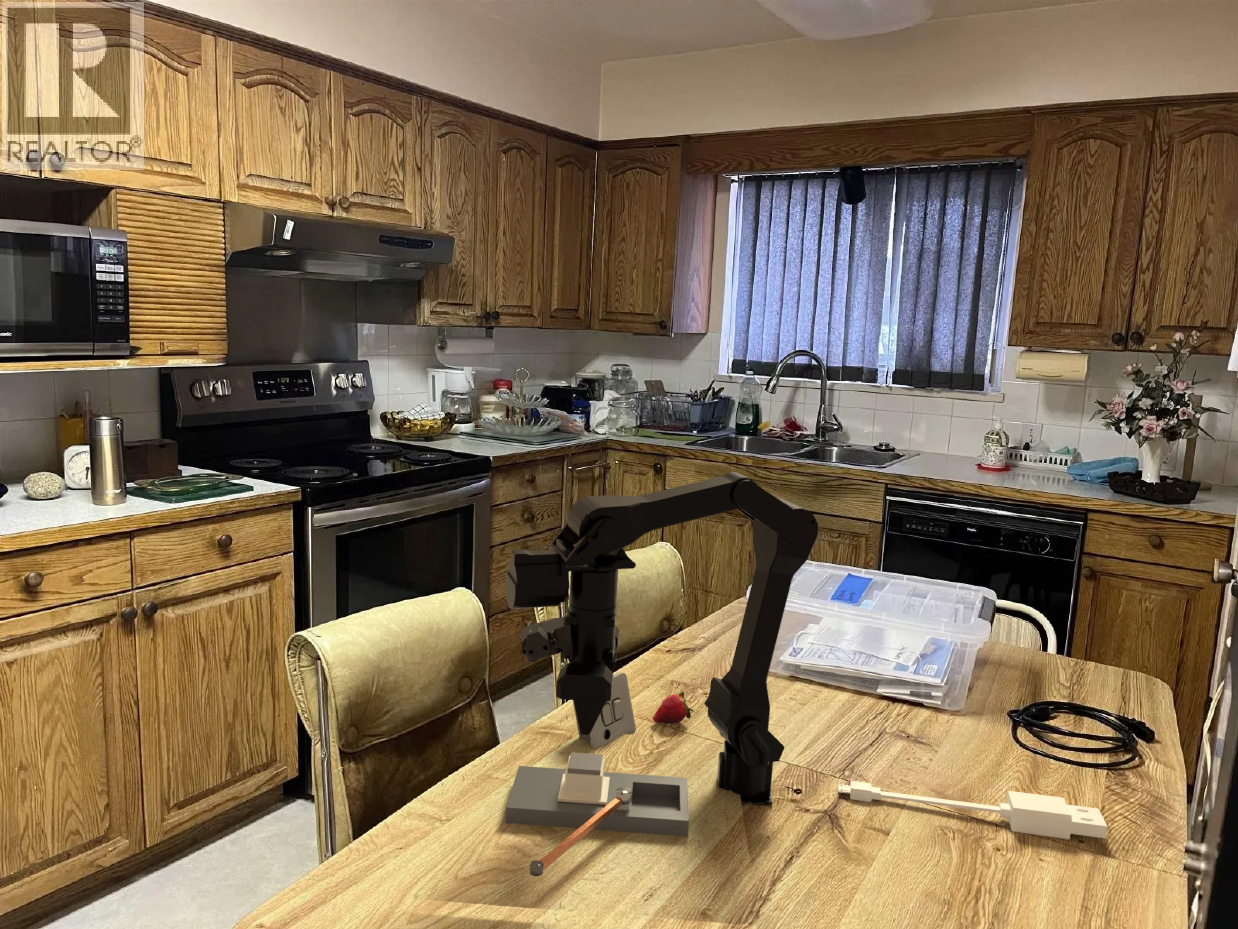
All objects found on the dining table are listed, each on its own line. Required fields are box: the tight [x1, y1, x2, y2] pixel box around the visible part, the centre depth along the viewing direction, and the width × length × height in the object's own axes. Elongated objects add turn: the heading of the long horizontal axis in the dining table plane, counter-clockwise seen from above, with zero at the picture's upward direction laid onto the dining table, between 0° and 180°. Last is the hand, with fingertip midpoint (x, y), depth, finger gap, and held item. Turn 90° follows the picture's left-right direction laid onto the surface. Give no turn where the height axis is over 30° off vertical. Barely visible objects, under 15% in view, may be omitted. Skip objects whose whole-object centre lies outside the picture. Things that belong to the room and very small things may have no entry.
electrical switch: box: [572, 672, 637, 749], centre depth 134 cm, size 9×5×9 cm, turn 141°
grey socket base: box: [505, 765, 690, 837], centre depth 114 cm, size 22×10×4 cm, turn 87°
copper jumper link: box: [529, 787, 632, 877], centre depth 104 cm, size 19×2×1 cm, turn 148°
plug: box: [558, 751, 610, 805], centre depth 114 cm, size 6×6×6 cm
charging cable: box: [838, 780, 1108, 841], centre depth 119 cm, size 5×32×3 cm, turn 76°
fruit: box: [652, 691, 694, 725], centre depth 140 cm, size 4×6×5 cm
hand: (587, 724), depth 113 cm, fingers open, 5 cm apart
